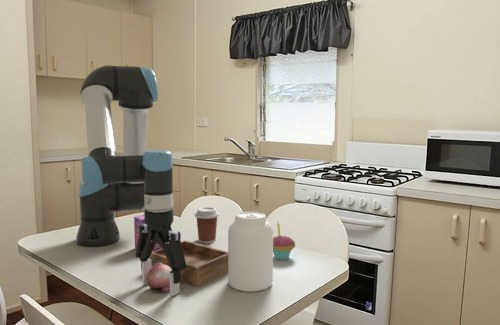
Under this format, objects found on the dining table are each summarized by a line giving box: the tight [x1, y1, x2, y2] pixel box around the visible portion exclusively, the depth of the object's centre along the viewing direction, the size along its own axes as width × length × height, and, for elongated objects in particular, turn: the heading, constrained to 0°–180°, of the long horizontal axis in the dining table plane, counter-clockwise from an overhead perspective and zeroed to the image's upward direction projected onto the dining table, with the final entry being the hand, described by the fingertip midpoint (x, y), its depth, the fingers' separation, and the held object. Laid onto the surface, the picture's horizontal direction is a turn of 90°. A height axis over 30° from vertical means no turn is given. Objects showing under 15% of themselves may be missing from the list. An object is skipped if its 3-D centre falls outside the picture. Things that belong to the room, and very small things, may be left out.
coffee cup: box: [194, 206, 220, 244], centre depth 151 cm, size 9×9×12 cm
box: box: [133, 214, 169, 252], centre depth 143 cm, size 10×6×12 cm, turn 131°
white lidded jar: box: [227, 211, 274, 293], centre depth 113 cm, size 12×12×20 cm
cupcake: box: [273, 222, 296, 261], centre depth 134 cm, size 9×8×12 cm
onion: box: [146, 263, 172, 293], centre depth 110 cm, size 8×8×7 cm
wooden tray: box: [149, 240, 228, 288], centre depth 123 cm, size 20×15×6 cm
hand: (160, 288), depth 110 cm, fingers open, 10 cm apart
